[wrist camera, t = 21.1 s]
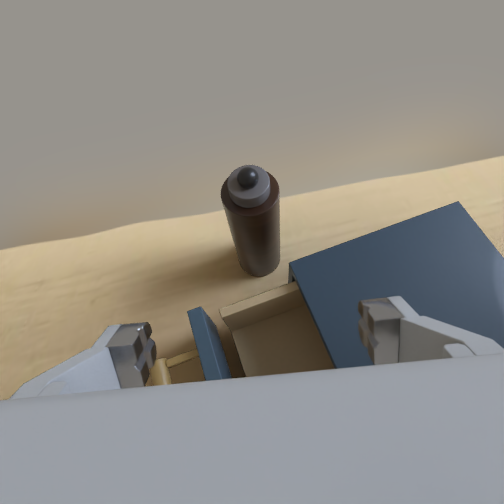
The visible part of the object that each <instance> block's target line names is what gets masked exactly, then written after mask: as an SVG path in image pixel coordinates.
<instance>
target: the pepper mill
mask: <svg viewBox="0 0 504 504" xmlns="http://www.w3.org/2000/svg"><path fill="white" fill-rule="evenodd" d="M221 199H222V203H223V206H224V210H225V213H226V217H227V220H228V224H229V227H230V231H231V234H232V237H233V241H234V244H235V248H236V251H237V255H238V258H239V262H240V265H241V267H242V268H243V270H244V271H245V272H247V273H248V274H250V275H253V276H265V275H268V274H270V273H272V272H273V271H274V270H275V269H276V268H277V266H278V264H279V261H280V206H279V186H278V183H277V181H276V179H275V178H274V177H273V176H272V175H271V174H269V173H268V172H266V171H265V170H263V169H262V168H260V167H258V166H254V165H246V166H242V167H239V168H237V169H236V170H234V171H233V172H232V173H231V175H230V176H229V177H228V178H227V180H226V181H225V182H224V184H223V186H222V189H221Z"/></svg>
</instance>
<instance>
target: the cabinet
mask: <svg viewBox="0 0 504 504" xmlns="http://www.w3.org/2000/svg"><path fill="white" fill-rule="evenodd" d="M294 281H296V283H297V286H298V288H299V290H300V292H301V294H302V297H303V299H304V301H305V303H306V306H307V308H308V310H309V312H310V315H311V317H312V319H313V321H314V324H315V326H316V328H317V330H318V332H319V335H320V337H321V339H322V341H323V344H324V346H325V348H326V350H327V353H328V355H329V357H330V359H331V361H332V364H333V366H334V368H335V369H339V368H350V367H360V366H371V365H374V364H373V362H372V360H371V358H370V357H369V355H368V348H367V347H365V346H363V344H362V342H361V339H360V335H359V330H358V321H359V320H360V318H361V315H360V314H359V312H358V303H359V301H361V300H368V299H376V298H384V297H393V296H401V297H402V298H403V299H404V300H405V301H406V302H407V303H408V304H409V305H410V307H411V308H412V309H413V310H414V311H415V312H416V313H417V314H418V315H419V316H426V317H429V318H432V319H435V320H438V321H441V322H444V323H447V324H449V325H452V326H455V327H458V328H461V329H464V330H467V331H470V332H473V333H475V334H478V335H481V336H484V337H487V338H490V339H493V340H494V341H495V342H496V343H497V344H499V345H500V346H501V347H502V348H503V349H504V258H503V257H502V255H501V254H500V253H499V252H498V250H497V249H496V248H495V247H494V245H493V244H492V243H491V242H490V240H489V239H488V238H487V237H486V235H485V234H484V233H483V232H482V230H481V229H480V228H479V227H478V225H477V224H476V223H475V221H474V220H473V219H472V218H471V216H470V215H469V214H468V213H467V211H466V210H465V209H464V208H463V206H462V205H461V204H460V203H459V201H458V202H455V203H452V204H449V205H447V206H444V207H441V208H438V209H435V210H433V211H430V212H427V213H424V214H422V215H419V216H416V217H413V218H411V219H408V220H405V221H402V222H400V223H397V224H394V225H391V226H389V227H386V228H383V229H380V230H378V231H375V232H372V233H369V234H367V235H364V236H361V237H358V238H356V239H353V240H350V241H347V242H345V243H342V244H339V245H336V246H334V247H331V248H328V249H325V250H323V251H320V252H317V253H314V254H312V255H309V256H306V257H303V258H300V259H298V260H295V261H292V262H290V263H289V276H288V284H289V283H291V282H294Z"/></svg>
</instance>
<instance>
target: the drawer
mask: <svg viewBox="0 0 504 504" xmlns="http://www.w3.org/2000/svg"><path fill="white" fill-rule="evenodd" d="M219 311H220V314H221V317H222V319H223V320H224V322H225V323H226V325H227V326H228V328H229V329H230V331H231V333H232V336H233V339H234V342H235V345H236V349H237V352H238V355H239V358H240V361H241V364H242V367H243V370H244V373H245V376H246V377H254V376H264V375H275V374H286V373H296V372H307V371H318V370H328V369H335V368H334V366H333V364H332V361H331V359H330V357H329V355H328V353H327V350H326V348H325V346H324V344H323V341H322V339H321V337H320V335H319V332H318V330H317V328H316V326H315V324H314V321H313V319H312V317H311V315H310V312H309V310H308V308H307V306H306V303H305V301H304V299H303V297H302V294H301V292H300V290H299V288H298V286H297V283H296V281H294V282H291V283H289V284H286V285H283V286H280V287H278V288H275V289H272V290H270V291H267V292H264V293H261V294H259V295H256V296H253V297H251V298H248V299H245V300H242V301H240V302H237V303H234V304H232V305H229V306H226V307H223V308H221V309H219ZM187 313H188V317H189V321H190V324H191V328H192V332H193V335H194V339H195V343H196V347H197V349H194V350H191V351H189V352H186V353H183V354H181V355H178V356H175V357H173V358H170V359H166V358H161V359H157V360H156V361H155V364H154V366H153V367H152V368H150V373H151V378H152V383H153V386H157V385H168V384H172V381H171V377H170V372H169V368H171V367H174V366H176V365H179V364H182V363H184V362H187V361H190V360H192V359H195V358H197V357H199V358H200V361H201V365H202V369H203V373H204V376H205V380H206V381H211V380H221V379H232V376H231V373H230V370H229V367H228V363H227V360H226V357H225V353H224V350H223V347H222V344H221V340H220V337H219V334H218V330H217V327H216V325H215V324H214V323H213V321H212V320H211V319H210V317H209V316H208V315H207V314H206V312H205V311H204V310H203V309H202V307H198V308H195V309H192V310H189V311H187Z"/></svg>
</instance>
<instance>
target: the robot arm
mask: <svg viewBox="0 0 504 504" xmlns="http://www.w3.org/2000/svg"><path fill="white" fill-rule="evenodd" d="M358 312H359V314H360V315H361V318H360V320H359V321H358V330H359V335H360V339H361V342H362V344H363V346H365V347H367V348H368V355H369V357H370V358H371V360H372V362H373V364H374V365H371V366H360V367H350V368H339V369H328V370H318V371H307V372H296V373H286V374H275V375H264V376H254V377H243V378H232V379H221V380H211V381H200V382H189V383H179V384H168V385H157V386H146V387H144V386H145V384H146V382H147V379H148V377H149V375H150V373H149V369H150V368H152V367H153V366H154V364H155V361H156V354H157V353H156V345H155V342H154V341H153V340H152V339H151V338H150V335H151V333H152V329H151V326H150V324H149V323H148V322H142V323H130V324H117V325H110V326H108V327H107V328H106V330H105V331H104V332H103V333H102V335H101V336H100V337H99V338H98V340H97V341H96V342H95V343H94V345H93V346H92V347H91V349H86V350H84V351H82V352H80V353H78V354H77V355H75V356H73V357H71V358H69V359H68V360H66V361H64V362H62V363H60V364H59V365H57V366H55V367H53V368H51V369H49V370H48V371H46V372H44V373H42V374H40V375H39V376H37V377H35V378H33V379H31V380H29V381H28V382H26V383H24V384H23V385H22V386H21V387H20V388H19V389H18V390H17V391H16V392H15V393H14V394H13V395H12V396H11V397H10V399H8V400H0V504H504V349H503V348H502V347H501V346H500V345H499V344H497V343H496V342H495V341H494V340H493V339H490V338H487V337H484V336H481V335H478V334H475V333H473V332H470V331H467V330H464V329H461V328H458V327H455V326H452V325H449V324H447V323H444V322H441V321H438V320H435V319H432V318H429V317H426V316H419V315H418V314H417V313H416V312H415V311H414V310H413V309H412V308H411V307H410V305H409V304H408V303H407V302H406V301H405V300H404V299H403V298H402V297H401V296H393V297H384V298H376V299H368V300H361V301H359V303H358Z"/></svg>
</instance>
